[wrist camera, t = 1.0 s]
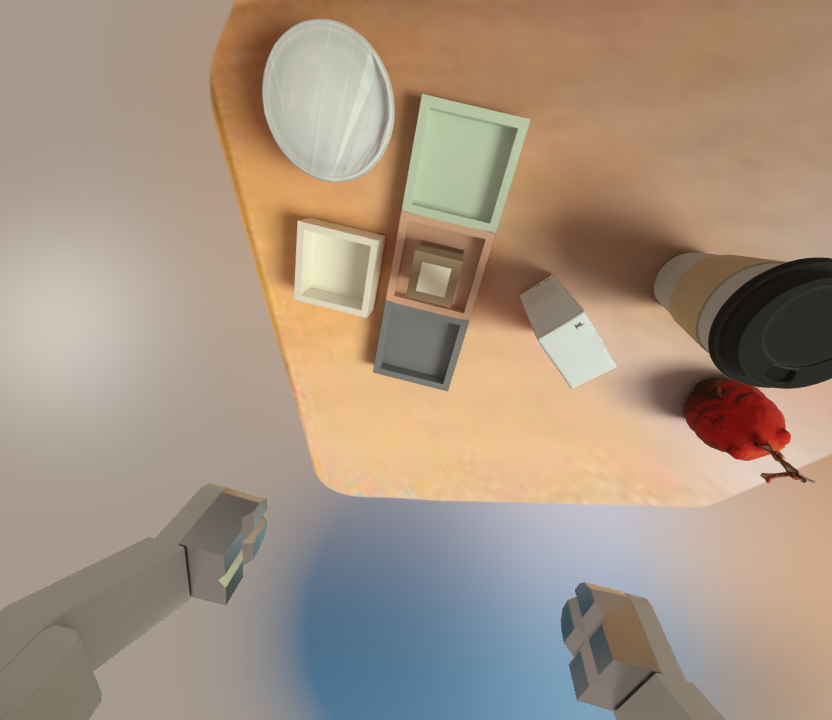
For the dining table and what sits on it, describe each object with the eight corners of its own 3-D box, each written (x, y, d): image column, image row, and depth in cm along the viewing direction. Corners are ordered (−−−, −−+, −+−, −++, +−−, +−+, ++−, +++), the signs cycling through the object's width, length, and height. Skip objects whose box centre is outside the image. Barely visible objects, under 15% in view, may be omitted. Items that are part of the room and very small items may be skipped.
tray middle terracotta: (404, 208, 37) (401, 210, 35) (494, 230, 36) (496, 233, 35) (389, 295, 41) (385, 300, 39) (469, 315, 41) (468, 321, 39)
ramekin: (409, 175, 35) (400, 175, 31) (305, 187, 37) (281, 189, 33) (395, 30, 30) (381, 3, 26) (276, 52, 32) (243, 31, 28)
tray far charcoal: (389, 294, 41) (385, 300, 39) (469, 314, 41) (469, 320, 39) (376, 364, 46) (373, 372, 44) (448, 383, 45) (447, 391, 44)
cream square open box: (311, 217, 38) (297, 220, 35) (386, 235, 38) (378, 240, 35) (306, 290, 42) (293, 299, 39) (374, 307, 42) (366, 317, 39)
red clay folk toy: (692, 432, 44) (789, 541, 31) (663, 396, 42) (752, 494, 29) (760, 400, 41) (899, 505, 28) (731, 359, 39) (864, 450, 26)
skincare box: (517, 295, 39) (534, 338, 29) (552, 272, 38) (585, 308, 27) (544, 336, 41) (571, 391, 30) (580, 316, 39) (620, 366, 29)
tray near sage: (424, 98, 32) (422, 93, 30) (527, 122, 32) (530, 119, 30) (404, 209, 37) (401, 211, 35) (494, 231, 37) (495, 234, 35)
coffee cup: (636, 331, 39) (721, 408, 26) (632, 247, 35) (729, 287, 22) (735, 311, 37) (885, 384, 24) (742, 218, 33) (924, 244, 20)
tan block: (422, 240, 37) (414, 250, 32) (464, 250, 37) (463, 262, 32) (413, 280, 40) (404, 296, 34) (453, 290, 39) (450, 308, 34)
